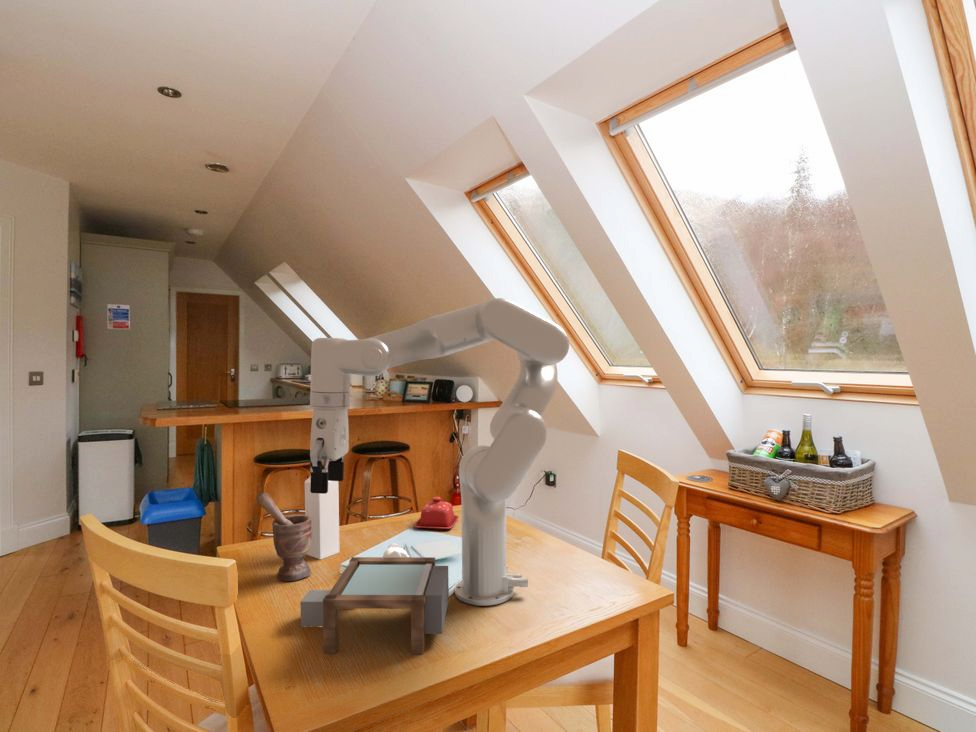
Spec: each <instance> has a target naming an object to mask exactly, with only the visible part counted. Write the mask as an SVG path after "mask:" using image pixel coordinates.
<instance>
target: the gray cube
mask: <svg viewBox="0 0 976 732" xmlns="http://www.w3.org/2000/svg"><path fill="white" fill-rule="evenodd" d="M330 591H331V589H309V590H308V591H307V592H306V594H305V595H304V597H303V598H302V599H301V600H300V627H301V628H308V627H307V626H323V599H324V598H325V596H326V595H328V594H329V592H330ZM305 626H306V627H305Z"/></svg>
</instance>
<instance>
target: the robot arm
mask: <svg viewBox="0 0 976 732" xmlns="http://www.w3.org/2000/svg"><path fill="white" fill-rule="evenodd" d="M493 341H494V342H495V341H497V342H499V343H501V344H503V345H505V346H507V347H508V348H511V349H512V350H515V351H516V354H517V356H518V360H519V366H520V370H519V374H518V377H517V379H516V381H515V383H514V384H513V386H512V388H511V390H510V391H509V393H508V394H507V396H505V398H504V401H502V403H501V404H500V406H499V408H498V409H497V410H496V412H495V413H494V415H493V416H492V417H491V420H490V424H489V432H490V434H491V437H492V438H493V441H492V442H491V444H490V445H475V446H473V447H470V449H468V450H467V451H466V452H465V453H464V454H463V456H462V458H461V460H460V463H459V470H458V474H459V476H458V477H459V487H460V496H461V497H460V500H461V580H460V581H459V582H458V583H457V584H456V585H455V588H454V595H455V597H456V598H458V600H459V601H461V602H463V603H464V604H465V603H466V604H469V605H472V606H482V607H484V606H485V607H487V606H489V607H490V606H495V605H500V604H502V603H505V602H507V601H509V600H510V599H511V598H512V597H513V595H514V592H515V590H514V587H518V588H528V587H529V584H528V583H529V582H528V581H529V579H528V577H523V575H522V573H511V572H509V568H508V566H507V503H506V502H507V500H508V499H509V498H510V497H512V496H513V495H514V493H515V492H516V491H517V490H518V488H519V487H520V485H521V484H522V482H523V481H524V479H525V478H526V476H527V475H528V473H529V471H530V470H531V468H532V467H533V465H534V464H535V463H536V460H537V459H538V458H539V456H540V454H541V452H542V451H543V449H544V446H545V444H546V441H547V436H548V435H547V434H548V432H547V431H548V430H547V429H548V428H547V425H546V422H545V420H544V418H543V417H542V416H543V414H544V413H545V411H546V410H547V407H548V405H549V403H550V402H551V400H552V398H553V396H554V394H555V392H556V388H557V384H558V368H557V364H559V363H561V362H562V361H563V360H564V359H565V358H566V356H567V354H568V352H569V349H570V339H569V337H568V334H567V333H566V331H565V330H564V329H563V328H562V327H561V325H558V324H556V323H555V322H554V321H551V320H550V319H547V318H546V317H543V316H542V315H539V314H538V313H535V312H534V311H531V310H530V309H528V308H526V307H524V306H522V305H520V304H518V303H516V302H514V301H512V300H509V299H507V298H503V297H497V298H492V299H489V300H488V299H487V300H485V301H481V302H477V303H474V304H471V305H468V306H465V307H461V308H458V309H454V310H451V311H447V312H444V313H441V314H437V315H434V316H433V315H432V316H430V317H427V318H424V319H421V320H419V321H418V322H416V323H413V324H411V325H409V326H405V327H401V328H398V329H395V330H393V331H389V332H385V333H382V334H378V335H376V336H372V337H368V338H364V339H344V338H337V337H318V338H314V340H313V341H312V343H311V354H310V355H311V356H310V357H311V359H310V387H309V388H310V395H309V408H310V409H312V417H311V427H310V428H311V429H310V443H309V447H310V448H309V449H310V451H309V452H310V453H309V458H310V462H309V465H310V470H309V471H310V476H311V486H310V492H311V493H321V494H326V493H327V492H328V480H329V481H338V482H343V481H344V476H345V473H344V472H345V471H344V470H345V461H344V460H345V456H346V455H347V454H348V453H349V451H350V445H349V443H350V441H349V440H350V439H349V438H350V437H349V435H350V433H349V412H348V409H350V404H351V403H350V399H351V398H350V397H351V375H357V376H361V377H369V378H371V377H377V376H380V375H382V374H383V373H384V372H386V371H387V370H388V369H391V368H394V367H398V366H402V365H403V364H404V365H405V364H408V363H411V362H417V361H421V360H427V359H428V360H431V359H438V358H442V357H446V356H449V355H452V354H455V353H459V352H461V351H466V350H468V349H472V348H475V347H478V346H481V345H484V344H487V343H491V342H493ZM327 470H328V472H326V471H327Z"/></svg>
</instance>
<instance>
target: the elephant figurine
mask: <svg viewBox="0 0 976 732" xmlns="http://www.w3.org/2000/svg"><path fill="white" fill-rule="evenodd" d="M411 556H412V557H413V556H414V553H413V554H411V555H408V552H407V550H405V549H404V548H403V547H399V545H398V544H397V543H391V544H390V545H389V546H388V547H387V549H386V550H384V553H383V556H382V557H411Z"/></svg>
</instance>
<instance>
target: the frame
mask: <svg viewBox="0 0 976 732" xmlns="http://www.w3.org/2000/svg"><path fill="white" fill-rule="evenodd" d="M348 562H349V563H348V565H347V566H346V567H345V568H344V570H343V571H342V573H341V574H340V576H339V578H338V579H337V581H336V582H335V583H334V585H333V586H332V588H331V589H330V590H331V591H330V592H329V594H328V595H326V596H325V598H324V599H323V627H322V629H323V654H331V655H333V654H334V655H335V654H337V652H338V650H339V646H340V644H339V609H340V610H341V609H342V610H343V609H348V610H349V609H351V610H352V609H353V610H354V609H355V610H357V609H360V610H361V609H365V610H366V609H369V610H371V609H372V610H373V609H374V610H375V609H376V610H377V609H378V610H380V609H381V610H387V609H389V610H394V609H395V610H397V609H398V610H400V609H401V610H410V635H411V637H410V640H411V641H410V643H411V644H410V645H411V648H410V649H411V655H423V654H424V651H425V595H341V594H342V592H343V591H344V589H345V588H346V586H347V584H348V583H349V581H350V580H351V578H352V576H353V575H354V573H355V572H356V570H357V568H358V567H359V565H426V564H432V569H433V566H436V557H435V556H434V557H425V556H423V557H414V556H412V557H411V556H410V557H383V556H382V557H379V556H377V557H372V556H370V557H368V556H367V557H363V556H361V557H359V556H356V557H355V556H352V557H351V558H350V560H349V561H348ZM431 572H432V571H431ZM430 576H431V575H430ZM429 579H430V578H429ZM428 583H429V581H428ZM427 586H428V585H427ZM426 589H427V588H426ZM425 593H426V591H425Z"/></svg>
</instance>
